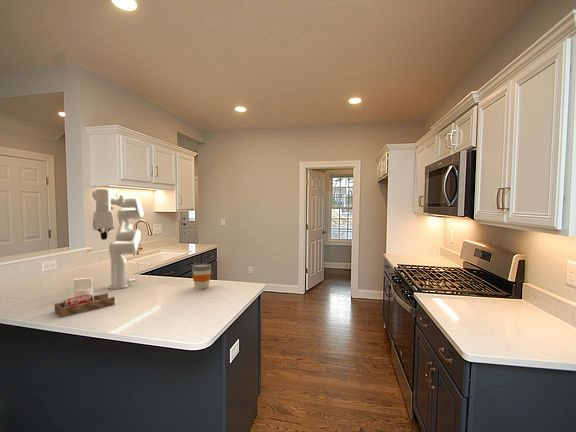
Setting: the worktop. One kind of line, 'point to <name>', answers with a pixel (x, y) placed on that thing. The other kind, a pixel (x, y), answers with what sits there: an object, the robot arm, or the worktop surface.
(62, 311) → the u rest
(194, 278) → the reusable coffee cup
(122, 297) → the worktop surface
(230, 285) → the worktop surface
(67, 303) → the soda can
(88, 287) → the cylinder with rectangular tab
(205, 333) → the worktop surface
